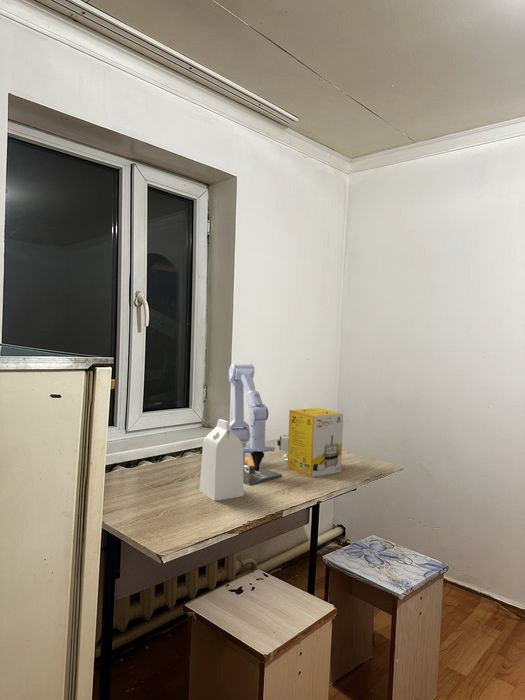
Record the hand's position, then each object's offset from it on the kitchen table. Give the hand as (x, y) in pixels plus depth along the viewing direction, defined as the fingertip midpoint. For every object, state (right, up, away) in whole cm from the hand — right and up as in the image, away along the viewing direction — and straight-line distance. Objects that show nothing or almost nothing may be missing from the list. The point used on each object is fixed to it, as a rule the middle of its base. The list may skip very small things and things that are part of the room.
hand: (256, 470), depth 188 cm
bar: (-3, 0, +4) cm, 5 cm away
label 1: (-1, -3, +3) cm, 4 cm away
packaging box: (+24, -4, +14) cm, 28 cm away
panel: (-3, -3, +3) cm, 5 cm away
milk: (-12, -3, -20) cm, 24 cm away
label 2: (+1, -3, -2) cm, 4 cm away
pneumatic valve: (+15, -3, +27) cm, 31 cm away
